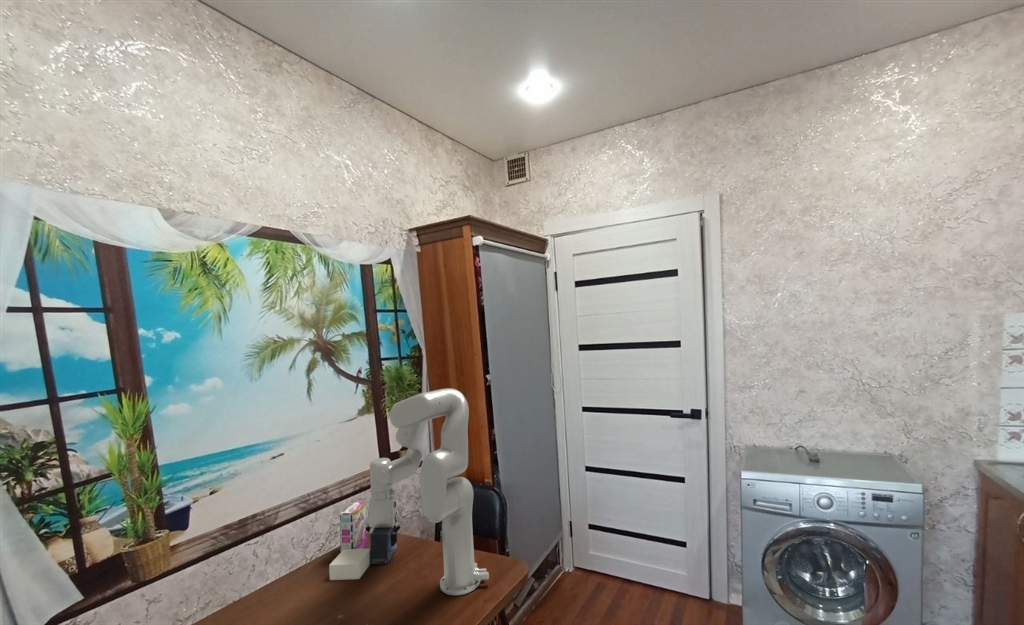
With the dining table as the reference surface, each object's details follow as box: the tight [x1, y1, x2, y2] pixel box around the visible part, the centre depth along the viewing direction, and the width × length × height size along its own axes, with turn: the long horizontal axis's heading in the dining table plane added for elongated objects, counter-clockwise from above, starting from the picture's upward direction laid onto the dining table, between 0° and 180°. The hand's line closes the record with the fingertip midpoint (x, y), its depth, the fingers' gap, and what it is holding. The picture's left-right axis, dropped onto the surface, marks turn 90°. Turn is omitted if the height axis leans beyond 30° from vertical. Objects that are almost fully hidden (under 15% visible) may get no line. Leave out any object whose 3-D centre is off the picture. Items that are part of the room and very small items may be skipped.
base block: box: [328, 547, 371, 581], centre depth 135 cm, size 10×10×5 cm
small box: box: [369, 522, 398, 566], centre depth 143 cm, size 11×6×10 cm, turn 179°
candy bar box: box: [339, 501, 368, 553], centre depth 148 cm, size 11×5×16 cm, turn 174°
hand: (384, 544), depth 143 cm, fingers closed on small box, 6 cm apart
